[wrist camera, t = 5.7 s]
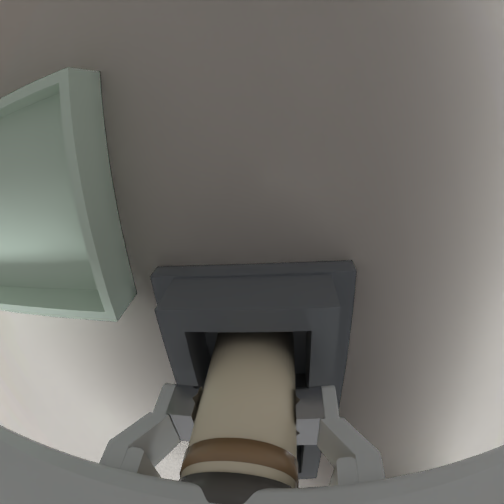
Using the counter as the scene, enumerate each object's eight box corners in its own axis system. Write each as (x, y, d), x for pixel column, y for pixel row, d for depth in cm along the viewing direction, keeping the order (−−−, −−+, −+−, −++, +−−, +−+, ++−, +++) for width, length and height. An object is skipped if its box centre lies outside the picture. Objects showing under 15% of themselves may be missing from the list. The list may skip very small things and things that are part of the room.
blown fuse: (294, 306, 14) (301, 505, 6) (294, 366, 15) (295, 536, 7) (211, 308, 14) (154, 493, 6) (222, 366, 16) (186, 529, 8)
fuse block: (351, 260, 14) (370, 302, 11) (329, 437, 20) (332, 477, 16) (157, 266, 15) (129, 306, 12) (204, 436, 20) (196, 475, 17)
